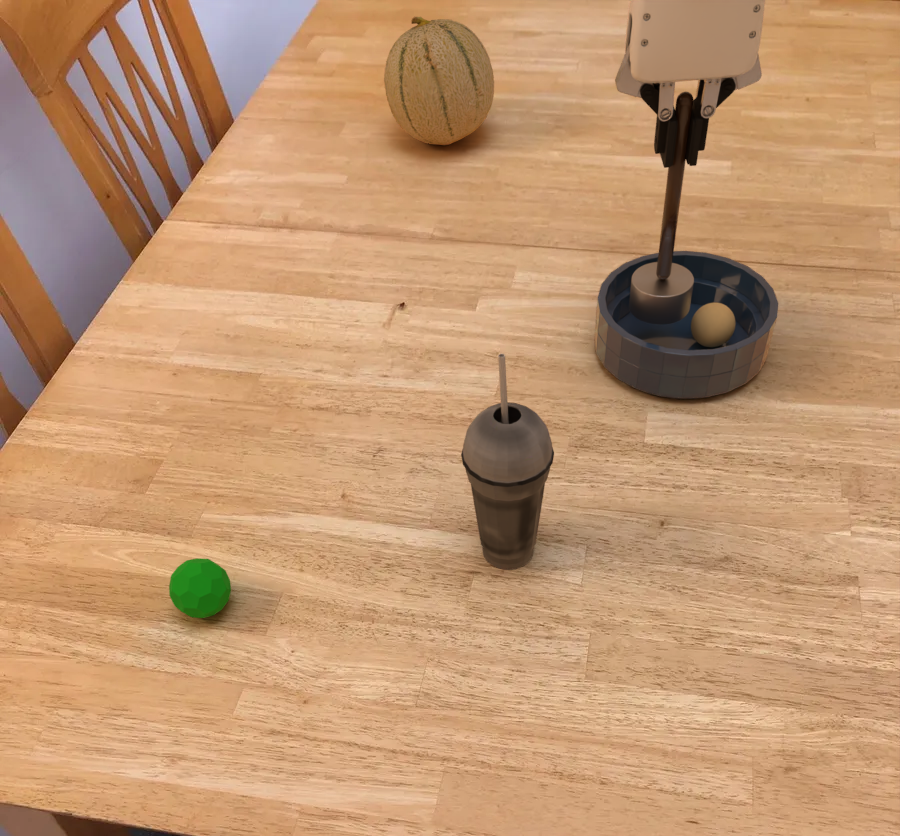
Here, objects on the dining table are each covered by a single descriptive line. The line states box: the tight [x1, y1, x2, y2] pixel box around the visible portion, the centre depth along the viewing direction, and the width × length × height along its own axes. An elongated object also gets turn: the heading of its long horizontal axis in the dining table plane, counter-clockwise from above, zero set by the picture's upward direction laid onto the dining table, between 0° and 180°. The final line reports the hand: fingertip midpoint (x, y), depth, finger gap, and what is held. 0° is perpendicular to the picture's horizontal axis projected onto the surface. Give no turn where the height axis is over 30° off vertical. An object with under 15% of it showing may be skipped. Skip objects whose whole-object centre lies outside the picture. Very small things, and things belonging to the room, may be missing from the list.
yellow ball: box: [691, 303, 735, 347], centre depth 94 cm, size 4×4×4 cm
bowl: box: [593, 250, 779, 400], centre depth 95 cm, size 18×18×6 cm
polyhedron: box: [168, 557, 232, 619], centre depth 77 cm, size 5×5×5 cm
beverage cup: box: [460, 353, 555, 571], centre depth 73 cm, size 7×7×20 cm
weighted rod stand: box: [629, 91, 694, 325], centre depth 85 cm, size 6×6×21 cm
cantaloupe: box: [383, 16, 495, 146], centre depth 122 cm, size 15×15×15 cm
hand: (677, 158), depth 81 cm, fingers closed on weighted rod stand, 1 cm apart
